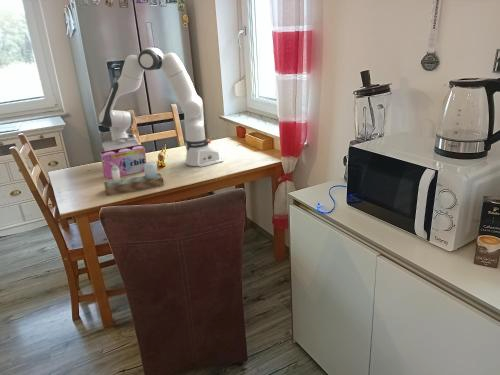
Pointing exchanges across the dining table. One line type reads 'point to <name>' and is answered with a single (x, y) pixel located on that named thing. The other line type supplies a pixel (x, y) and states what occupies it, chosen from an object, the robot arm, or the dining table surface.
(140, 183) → the podium
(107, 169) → the gum box
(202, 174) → the dining table surface
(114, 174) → the shaker
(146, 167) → the white short cylinder
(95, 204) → the dining table surface
